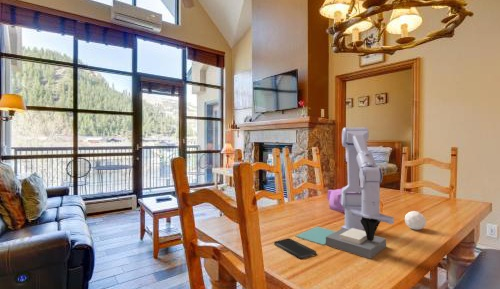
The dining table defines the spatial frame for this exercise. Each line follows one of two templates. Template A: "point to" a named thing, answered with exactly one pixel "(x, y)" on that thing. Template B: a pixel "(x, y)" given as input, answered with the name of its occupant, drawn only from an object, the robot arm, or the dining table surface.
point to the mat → (316, 235)
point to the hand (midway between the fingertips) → (370, 239)
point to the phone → (295, 248)
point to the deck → (362, 249)
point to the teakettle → (336, 200)
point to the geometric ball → (415, 220)
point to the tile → (354, 236)
